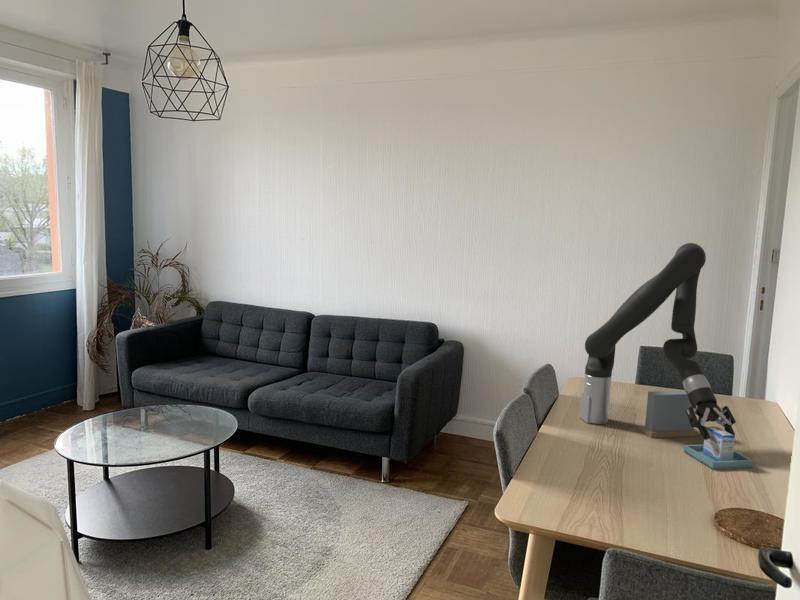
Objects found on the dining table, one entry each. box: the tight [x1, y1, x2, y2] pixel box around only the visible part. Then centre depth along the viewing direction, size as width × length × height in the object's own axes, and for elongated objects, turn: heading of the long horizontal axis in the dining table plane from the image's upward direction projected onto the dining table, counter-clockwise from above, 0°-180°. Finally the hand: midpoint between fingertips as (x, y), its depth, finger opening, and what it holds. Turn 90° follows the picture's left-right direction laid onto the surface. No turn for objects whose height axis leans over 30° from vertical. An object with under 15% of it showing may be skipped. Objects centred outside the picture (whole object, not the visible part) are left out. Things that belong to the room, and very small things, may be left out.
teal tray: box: [682, 443, 754, 471], centre depth 183 cm, size 14×14×2 cm
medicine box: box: [703, 426, 736, 461], centre depth 183 cm, size 8×4×9 cm, turn 10°
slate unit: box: [639, 390, 700, 438], centre depth 205 cm, size 18×7×14 cm, turn 100°
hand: (719, 438), depth 182 cm, fingers open, 8 cm apart
